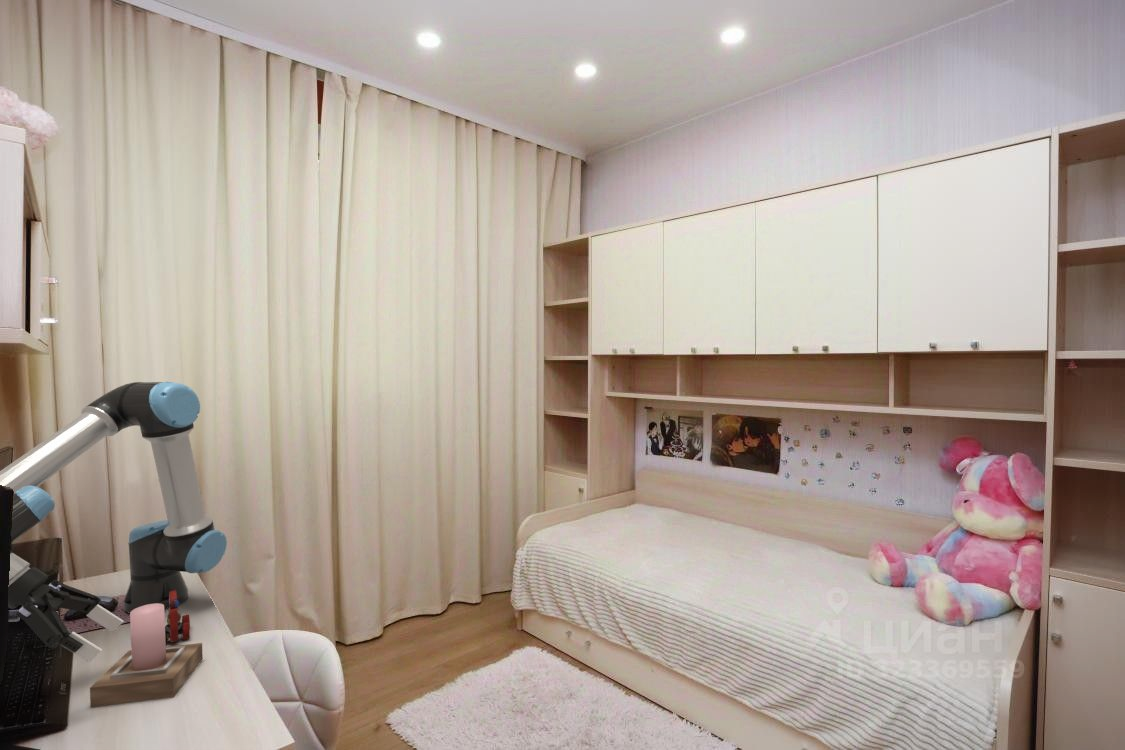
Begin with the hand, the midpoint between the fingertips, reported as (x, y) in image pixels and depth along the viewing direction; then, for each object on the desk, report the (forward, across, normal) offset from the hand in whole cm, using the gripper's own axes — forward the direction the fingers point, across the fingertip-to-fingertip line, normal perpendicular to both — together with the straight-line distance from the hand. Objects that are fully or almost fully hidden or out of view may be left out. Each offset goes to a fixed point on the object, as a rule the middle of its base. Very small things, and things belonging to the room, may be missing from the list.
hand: (108, 640), depth 122 cm
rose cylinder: (+10, 0, 0) cm, 10 cm away
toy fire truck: (+13, -22, -3) cm, 25 cm away
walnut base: (+13, 0, -2) cm, 13 cm away
